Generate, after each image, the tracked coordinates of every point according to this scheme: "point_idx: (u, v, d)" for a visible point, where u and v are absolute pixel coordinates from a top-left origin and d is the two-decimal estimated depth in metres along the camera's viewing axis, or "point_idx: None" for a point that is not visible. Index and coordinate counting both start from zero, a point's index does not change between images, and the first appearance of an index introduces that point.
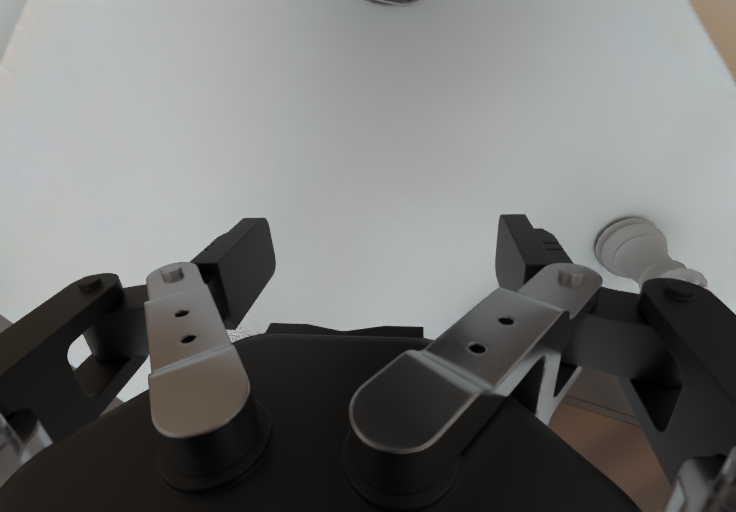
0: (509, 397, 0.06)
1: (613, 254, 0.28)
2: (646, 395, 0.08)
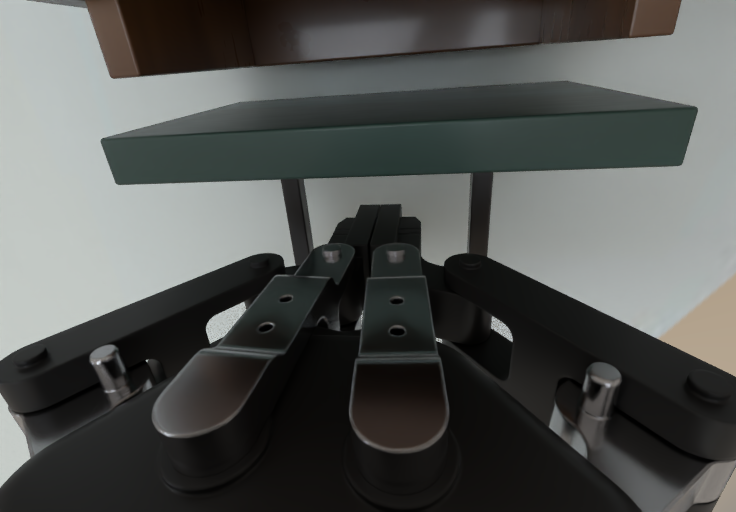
0: (509, 397, 0.06)
1: None
2: (476, 355, 0.09)
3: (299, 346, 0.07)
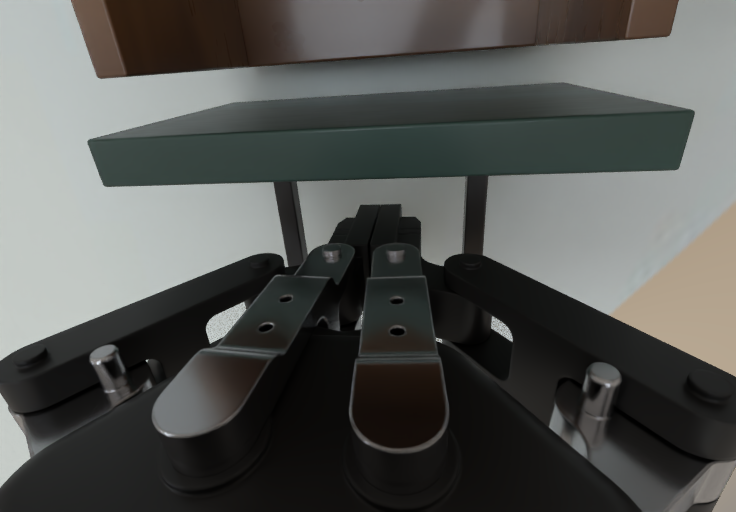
0: (509, 397, 0.06)
1: None
2: (476, 355, 0.09)
3: (299, 346, 0.07)
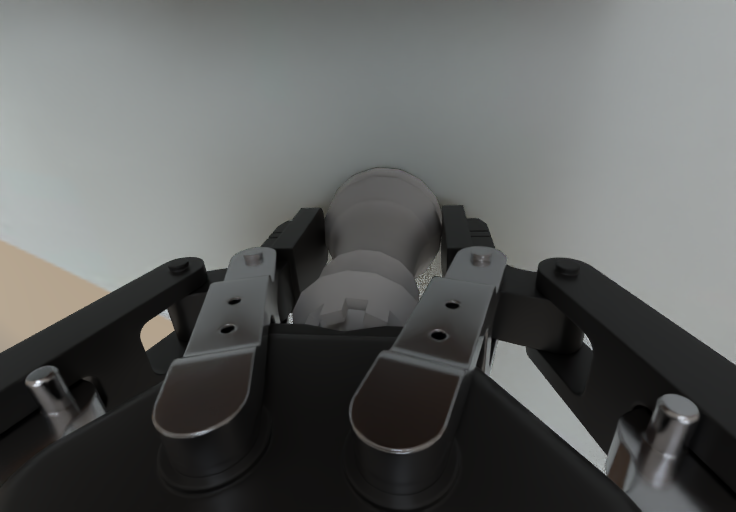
0: (509, 397, 0.06)
1: (427, 232, 0.13)
2: (557, 365, 0.09)
3: (265, 339, 0.07)
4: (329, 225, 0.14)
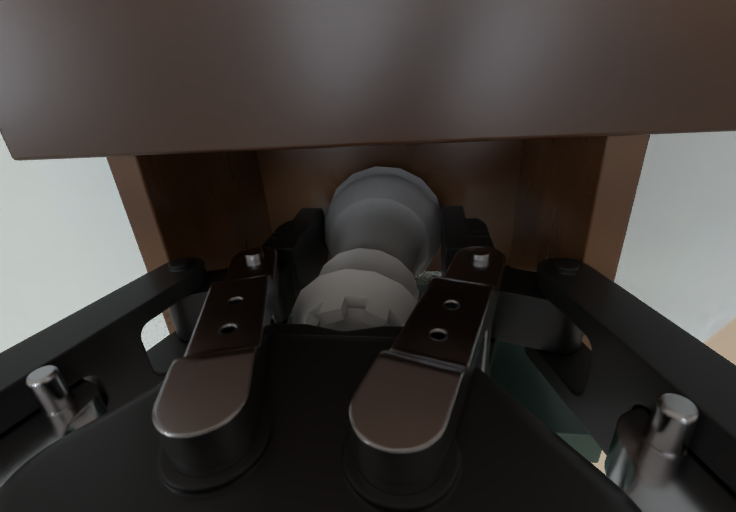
0: (509, 397, 0.06)
1: (427, 230, 0.13)
2: (556, 364, 0.09)
3: (265, 339, 0.07)
4: (329, 224, 0.14)
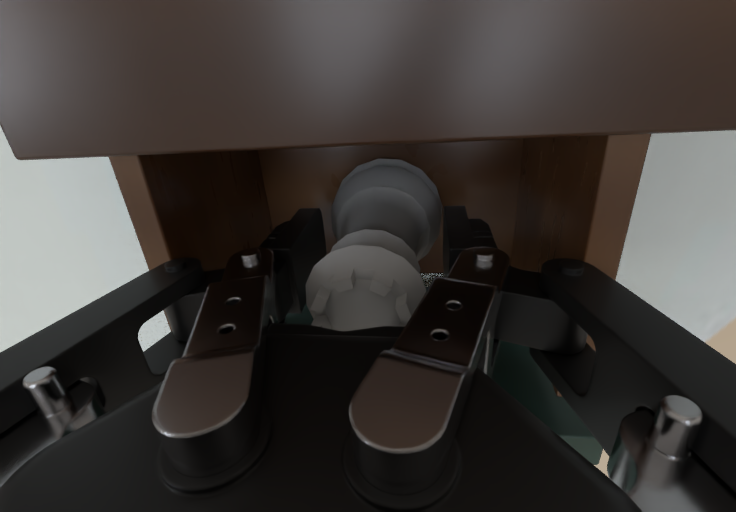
0: (509, 397, 0.06)
1: (427, 216, 0.14)
2: (560, 365, 0.09)
3: (264, 339, 0.07)
4: (335, 212, 0.15)
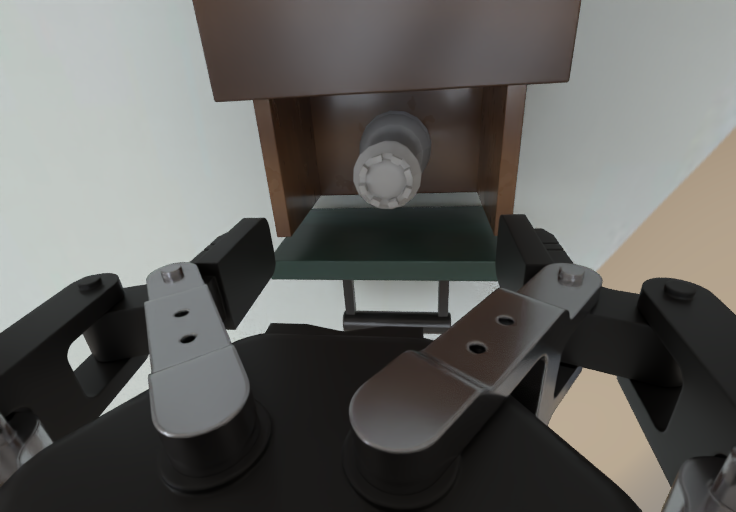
0: (509, 397, 0.06)
1: (421, 145, 0.23)
2: (646, 395, 0.08)
3: None
4: (363, 144, 0.23)
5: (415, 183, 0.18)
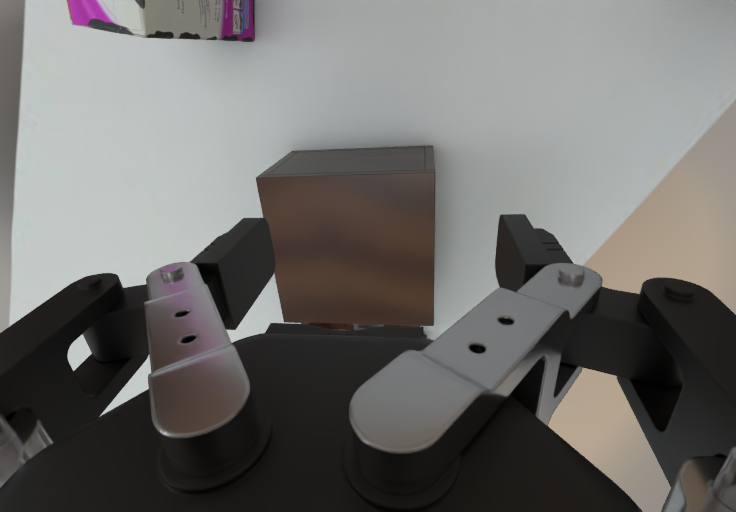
0: (509, 397, 0.06)
1: None
2: (646, 395, 0.08)
3: None
4: None
5: None
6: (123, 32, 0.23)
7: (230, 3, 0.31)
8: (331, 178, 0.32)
